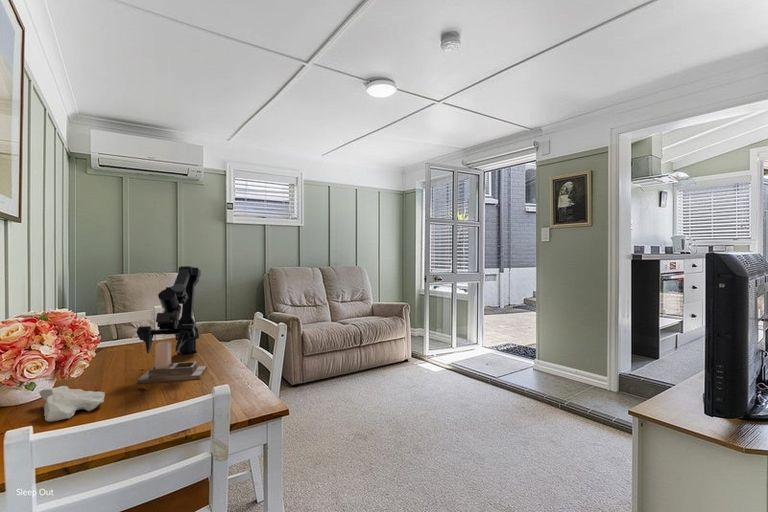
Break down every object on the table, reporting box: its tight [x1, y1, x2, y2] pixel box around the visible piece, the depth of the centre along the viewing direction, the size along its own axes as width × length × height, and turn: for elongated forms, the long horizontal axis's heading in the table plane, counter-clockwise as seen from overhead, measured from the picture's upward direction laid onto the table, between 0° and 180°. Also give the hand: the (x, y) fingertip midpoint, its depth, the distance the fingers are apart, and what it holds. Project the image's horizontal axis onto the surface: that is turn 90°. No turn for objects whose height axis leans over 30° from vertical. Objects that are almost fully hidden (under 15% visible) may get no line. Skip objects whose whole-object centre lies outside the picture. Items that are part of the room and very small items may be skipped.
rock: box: [39, 385, 106, 422], centre depth 109 cm, size 21×5×15 cm
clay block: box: [154, 341, 172, 369], centre depth 136 cm, size 4×4×11 cm
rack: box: [136, 360, 208, 384], centre depth 137 cm, size 12×20×4 cm, turn 105°
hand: (162, 351), depth 135 cm, fingers open, 9 cm apart
